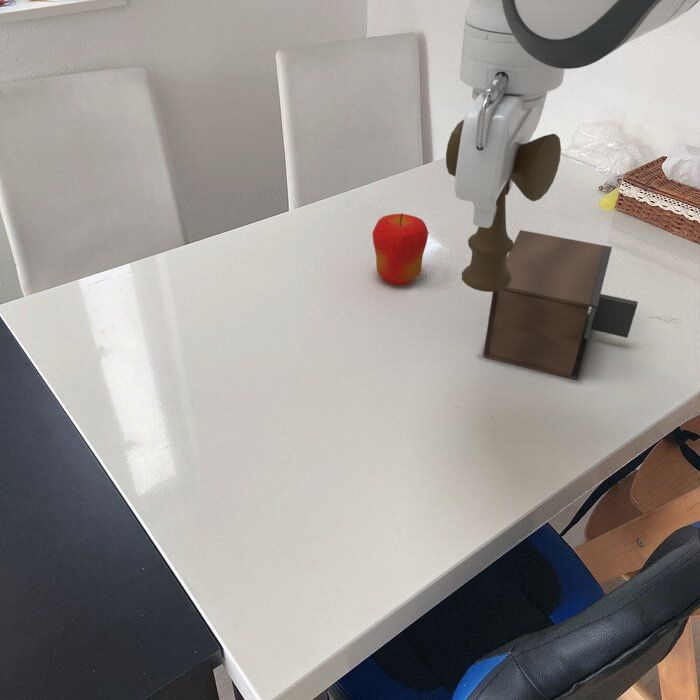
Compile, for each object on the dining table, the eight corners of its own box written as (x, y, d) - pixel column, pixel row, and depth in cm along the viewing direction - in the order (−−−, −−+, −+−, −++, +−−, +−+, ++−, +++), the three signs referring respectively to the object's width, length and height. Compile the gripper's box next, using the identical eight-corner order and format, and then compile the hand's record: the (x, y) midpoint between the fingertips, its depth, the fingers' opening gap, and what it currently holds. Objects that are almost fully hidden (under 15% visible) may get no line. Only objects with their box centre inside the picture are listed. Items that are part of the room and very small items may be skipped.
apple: (427, 267, 114) (432, 202, 107) (421, 294, 107) (426, 227, 100) (376, 262, 115) (378, 197, 108) (367, 288, 109) (368, 221, 101)
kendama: (513, 310, 67) (545, 105, 55) (431, 280, 72) (445, 85, 60) (540, 286, 71) (576, 88, 59) (461, 258, 76) (479, 71, 64)
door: (630, 316, 101) (649, 254, 95) (624, 348, 95) (644, 283, 89) (591, 308, 103) (607, 246, 97) (583, 338, 97) (600, 275, 90)
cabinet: (593, 317, 102) (612, 246, 95) (577, 380, 91) (597, 305, 83) (508, 298, 106) (520, 229, 99) (482, 356, 95) (493, 283, 87)
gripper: (526, 99, 50) (501, 263, 58) (568, 35, 65) (543, 173, 73) (443, 89, 52) (430, 249, 60) (502, 29, 67) (485, 164, 75)
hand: (492, 207), depth 67 cm, fingers closed on kendama, 6 cm apart
